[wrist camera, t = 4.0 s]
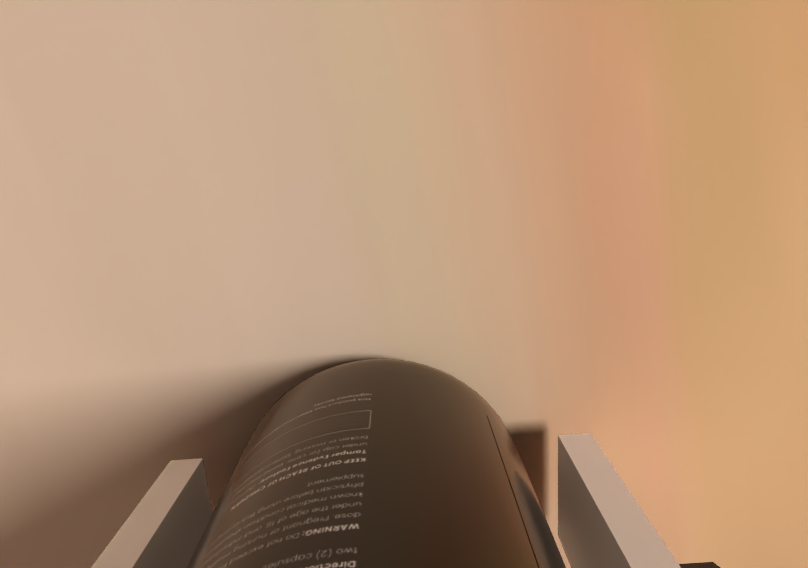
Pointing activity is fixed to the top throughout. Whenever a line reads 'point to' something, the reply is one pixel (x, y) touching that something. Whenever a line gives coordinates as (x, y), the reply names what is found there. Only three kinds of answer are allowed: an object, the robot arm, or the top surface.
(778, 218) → the top surface
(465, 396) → the supplement bottle
